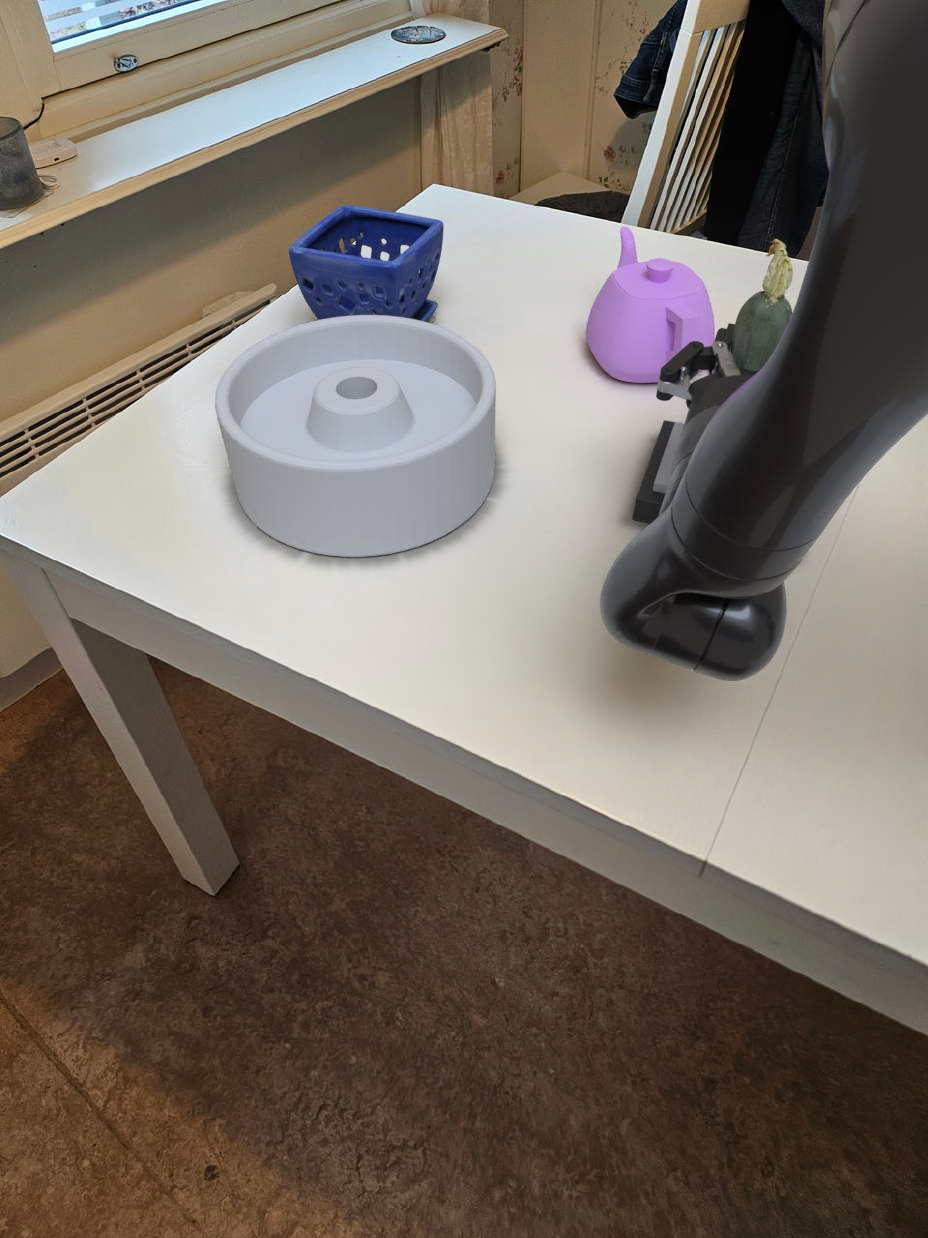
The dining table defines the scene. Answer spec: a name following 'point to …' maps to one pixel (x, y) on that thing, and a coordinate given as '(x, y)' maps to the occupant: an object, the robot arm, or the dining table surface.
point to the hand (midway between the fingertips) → (759, 338)
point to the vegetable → (764, 314)
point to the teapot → (647, 315)
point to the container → (359, 433)
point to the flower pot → (368, 264)
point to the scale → (657, 473)
